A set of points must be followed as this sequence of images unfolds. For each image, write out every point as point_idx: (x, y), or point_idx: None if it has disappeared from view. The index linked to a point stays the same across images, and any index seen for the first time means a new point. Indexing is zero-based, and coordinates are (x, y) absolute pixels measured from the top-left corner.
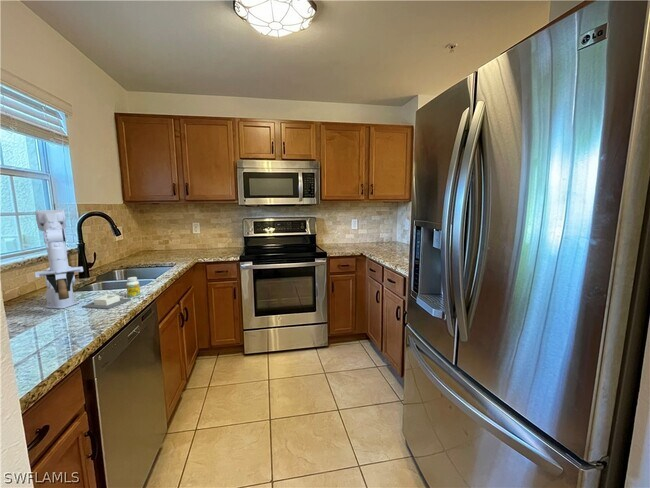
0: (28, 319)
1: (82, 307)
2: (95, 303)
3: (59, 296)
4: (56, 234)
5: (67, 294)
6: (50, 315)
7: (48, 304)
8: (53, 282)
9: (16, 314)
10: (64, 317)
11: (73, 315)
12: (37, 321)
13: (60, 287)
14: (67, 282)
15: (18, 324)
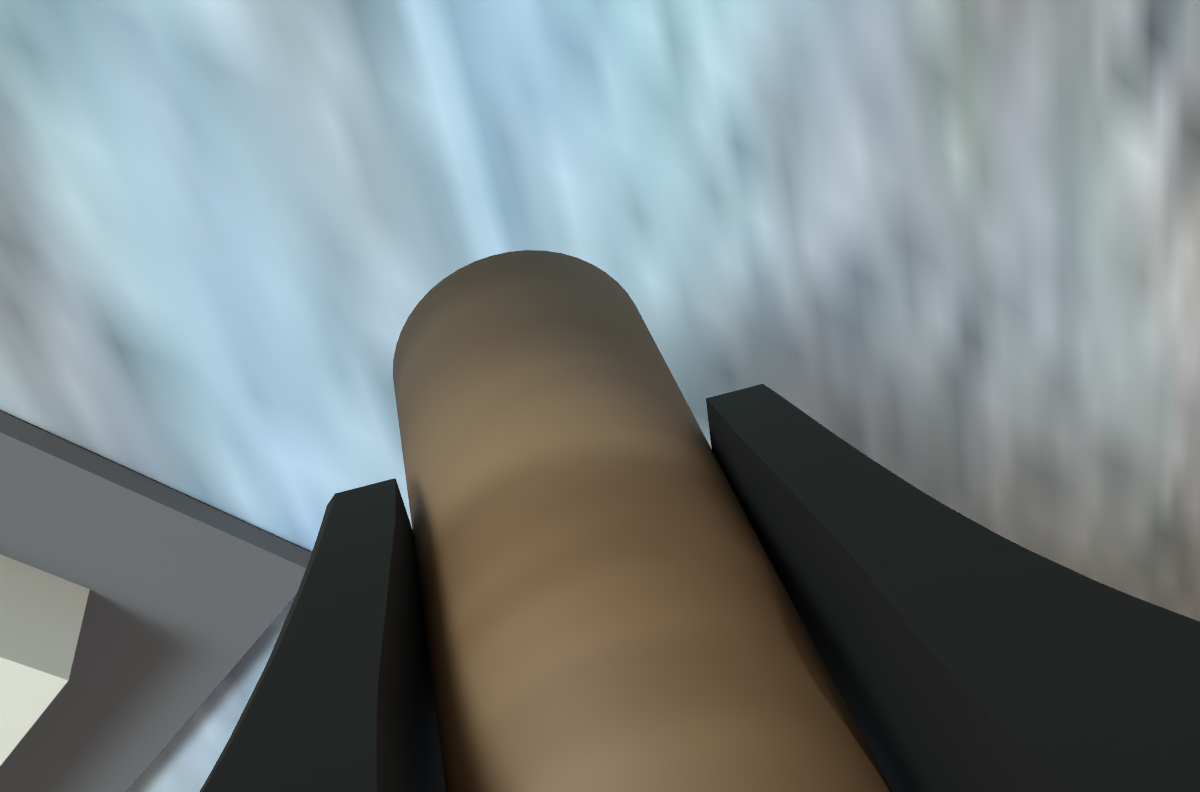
0: (1042, 260)
1: (307, 552)
2: (44, 594)
3: (635, 327)
4: None
5: (416, 397)
6: (755, 325)
7: None
8: (1033, 649)
9: (1167, 572)
10: (470, 49)
11: (313, 105)
12: (913, 49)
13: (652, 519)
14: (364, 746)
15: (1169, 37)
